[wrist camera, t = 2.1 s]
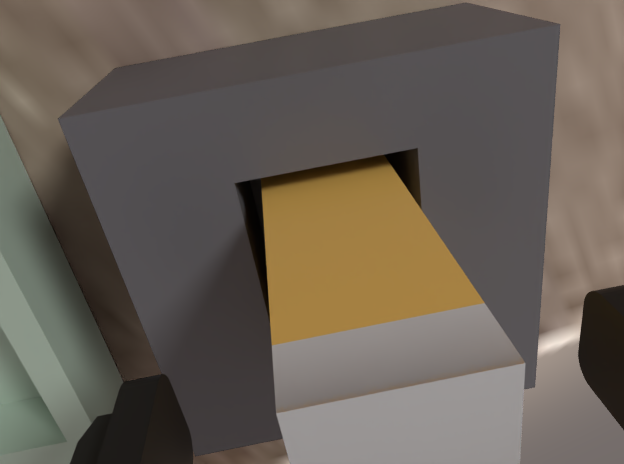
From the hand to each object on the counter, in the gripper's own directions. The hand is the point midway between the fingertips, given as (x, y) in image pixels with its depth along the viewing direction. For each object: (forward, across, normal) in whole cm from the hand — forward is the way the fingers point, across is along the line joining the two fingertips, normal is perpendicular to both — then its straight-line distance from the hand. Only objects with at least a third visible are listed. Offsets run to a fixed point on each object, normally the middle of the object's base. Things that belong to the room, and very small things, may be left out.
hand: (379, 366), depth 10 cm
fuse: (+7, 0, 0) cm, 7 cm away
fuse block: (+8, 0, 0) cm, 8 cm away
